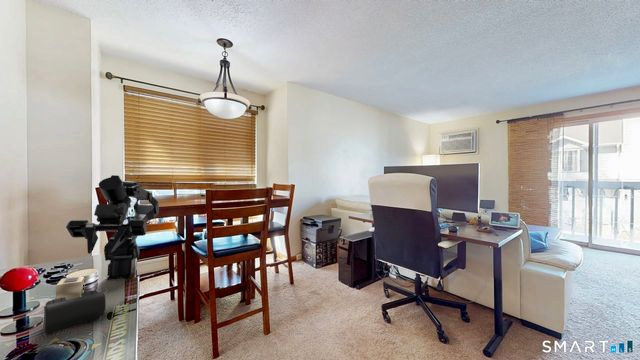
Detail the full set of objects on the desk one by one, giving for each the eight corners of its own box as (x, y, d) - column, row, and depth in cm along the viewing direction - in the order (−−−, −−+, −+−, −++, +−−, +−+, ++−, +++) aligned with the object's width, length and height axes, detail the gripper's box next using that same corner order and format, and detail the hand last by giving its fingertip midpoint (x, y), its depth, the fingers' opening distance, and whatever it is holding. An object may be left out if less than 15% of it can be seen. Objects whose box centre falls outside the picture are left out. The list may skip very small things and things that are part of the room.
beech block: (83, 292, 74) (85, 275, 74) (80, 298, 70) (81, 281, 70) (60, 295, 71) (61, 278, 71) (55, 303, 67) (56, 284, 67)
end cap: (43, 342, 52) (46, 310, 52) (40, 328, 56) (42, 299, 56) (104, 322, 60) (106, 295, 60) (98, 311, 64) (99, 286, 64)
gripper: (71, 193, 72) (44, 238, 62) (146, 195, 79) (133, 236, 69) (83, 215, 79) (61, 260, 69) (151, 215, 86) (140, 255, 76)
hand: (99, 252), depth 70 cm, fingers open, 5 cm apart
